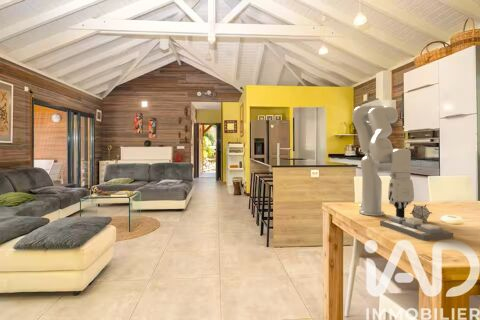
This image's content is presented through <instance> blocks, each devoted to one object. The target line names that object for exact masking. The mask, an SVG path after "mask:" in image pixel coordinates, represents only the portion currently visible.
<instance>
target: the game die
mask: <svg viewBox="0 0 480 320" xmlns="http://www.w3.org/2000/svg"><path fill="white" fill-rule="evenodd" d="M409 214H410V215H411V216H412V218H413V217H415V218H418V219H422V220H423V222H424V221H425V222H427V223H428V219H429V216H430V214H433V213H432V211H429V209H428V208H427V204H424V205H416V204H414V203H413V207H412V210H411V212H409Z"/></svg>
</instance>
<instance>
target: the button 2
mask: <svg viewBox="0 0 480 320" xmlns="http://www.w3.org/2000/svg"><path fill="white" fill-rule="evenodd" d="M421 227H423V228H426V229H430V230H432V229H439V228H440V226H438V225H434V224H432V223H424V224H422V225H421Z"/></svg>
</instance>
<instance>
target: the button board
mask: <svg viewBox="0 0 480 320" xmlns="http://www.w3.org/2000/svg"><path fill="white" fill-rule="evenodd" d="M423 224H425V223H423ZM379 225H380V226H382V227H385V228H387V229H391V230H394V231H396V232H399V233H402V234H404V235H407V236H410V237H412V238H415V239H418V240H421V241H433V240H446V239H447V238H449V239H454V232H451V231H448V230H444V228H440V227H439V229H432V230H430V229H426V228H423V227H421V225H422V224H415V225H413V224H410V223H407V222H406V220H397V219H394V218H392V216H390V217H388V219H386V220H380V221H379Z"/></svg>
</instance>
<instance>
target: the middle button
mask: <svg viewBox="0 0 480 320" xmlns="http://www.w3.org/2000/svg"><path fill="white" fill-rule="evenodd" d="M406 222H407V223H410V224H413V225H415V224H423V222H424V221H423V220H422V219H418V218H415V217H413V216H412V217H407V218H406Z"/></svg>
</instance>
